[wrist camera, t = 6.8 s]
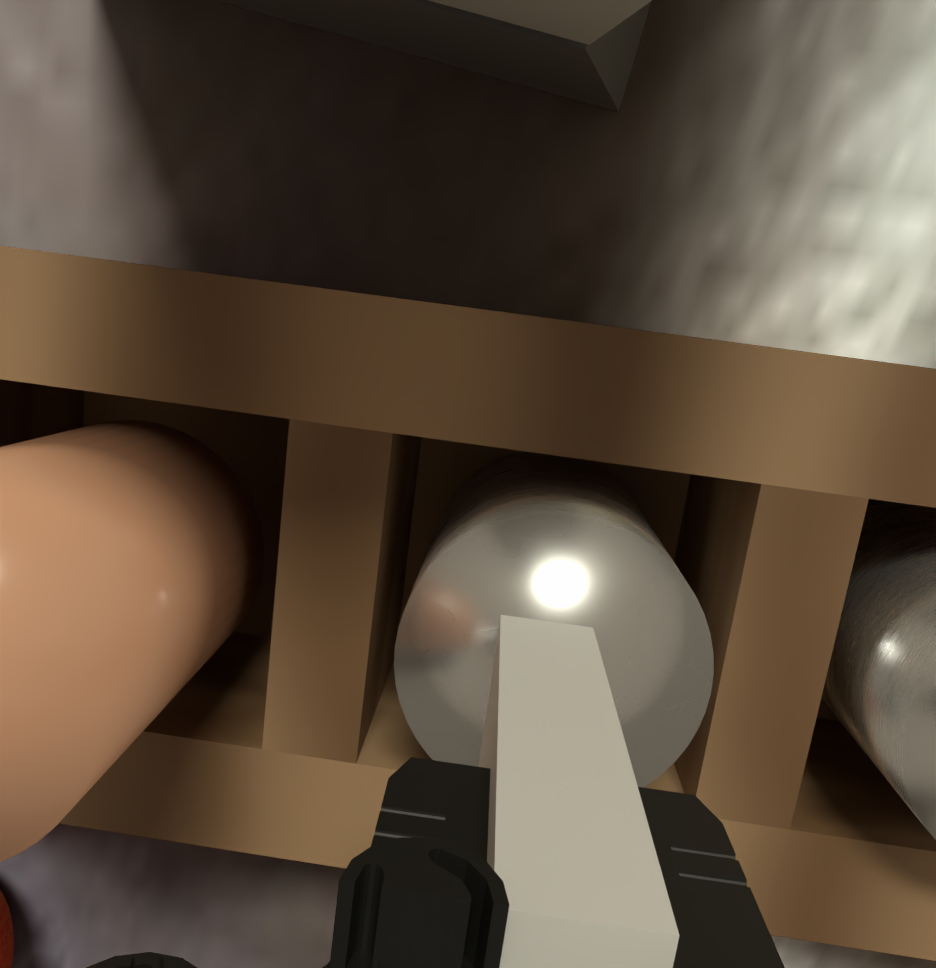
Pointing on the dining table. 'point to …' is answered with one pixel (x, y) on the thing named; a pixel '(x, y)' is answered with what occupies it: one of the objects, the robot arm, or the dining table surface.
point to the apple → (6, 934)
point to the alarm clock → (494, 37)
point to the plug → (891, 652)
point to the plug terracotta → (107, 600)
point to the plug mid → (552, 607)
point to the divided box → (413, 521)
